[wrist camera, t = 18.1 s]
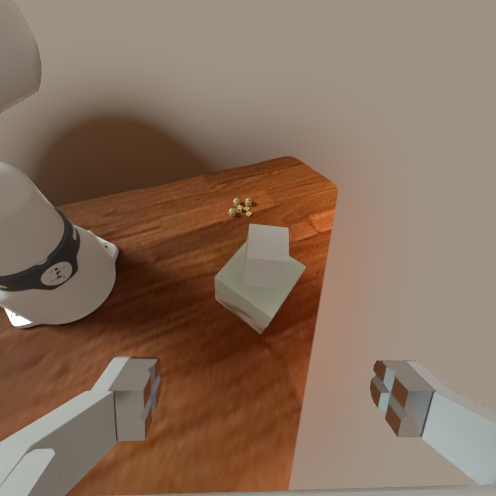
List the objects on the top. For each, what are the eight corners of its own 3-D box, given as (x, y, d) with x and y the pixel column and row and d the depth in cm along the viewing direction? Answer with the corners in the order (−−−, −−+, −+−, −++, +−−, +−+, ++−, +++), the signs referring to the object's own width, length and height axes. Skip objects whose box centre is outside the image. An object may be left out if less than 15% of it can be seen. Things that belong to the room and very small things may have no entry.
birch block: (215, 299, 45) (214, 288, 40) (247, 261, 49) (250, 248, 45) (260, 334, 42) (265, 326, 38) (290, 291, 47) (297, 279, 43)
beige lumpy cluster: (228, 218, 55) (228, 212, 54) (230, 201, 58) (231, 195, 56) (251, 220, 55) (252, 215, 54) (252, 203, 58) (253, 198, 56)
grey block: (276, 288, 36) (289, 261, 29) (242, 285, 36) (246, 257, 29) (276, 258, 39) (288, 227, 32) (244, 255, 38) (249, 223, 32)
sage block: (215, 290, 40) (214, 277, 36) (250, 249, 45) (253, 233, 41) (266, 327, 38) (272, 318, 34) (297, 280, 43) (306, 266, 38)
